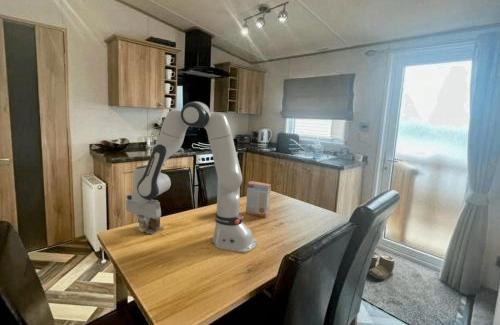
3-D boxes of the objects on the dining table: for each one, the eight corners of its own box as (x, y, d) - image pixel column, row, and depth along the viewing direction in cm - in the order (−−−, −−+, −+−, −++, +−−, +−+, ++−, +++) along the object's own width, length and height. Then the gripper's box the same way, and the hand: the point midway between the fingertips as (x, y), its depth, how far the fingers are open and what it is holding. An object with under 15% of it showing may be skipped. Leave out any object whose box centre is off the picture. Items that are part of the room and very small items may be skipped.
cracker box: (269, 215, 173) (271, 183, 169) (265, 218, 167) (268, 186, 163) (249, 210, 178) (251, 180, 175) (245, 213, 173) (247, 182, 169)
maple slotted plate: (155, 223, 148) (155, 209, 147) (159, 224, 147) (159, 210, 146) (138, 231, 137) (138, 216, 136) (142, 232, 136) (142, 217, 135)
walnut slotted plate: (163, 228, 144) (163, 213, 142) (152, 234, 137) (152, 218, 135) (146, 224, 149) (146, 208, 147) (135, 229, 141) (134, 213, 140)
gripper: (163, 199, 134) (163, 225, 137) (133, 192, 142) (133, 216, 145) (154, 202, 129) (154, 229, 131) (123, 195, 137) (124, 220, 139)
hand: (143, 222), depth 138 cm, fingers closed on maple slotted plate, 2 cm apart
